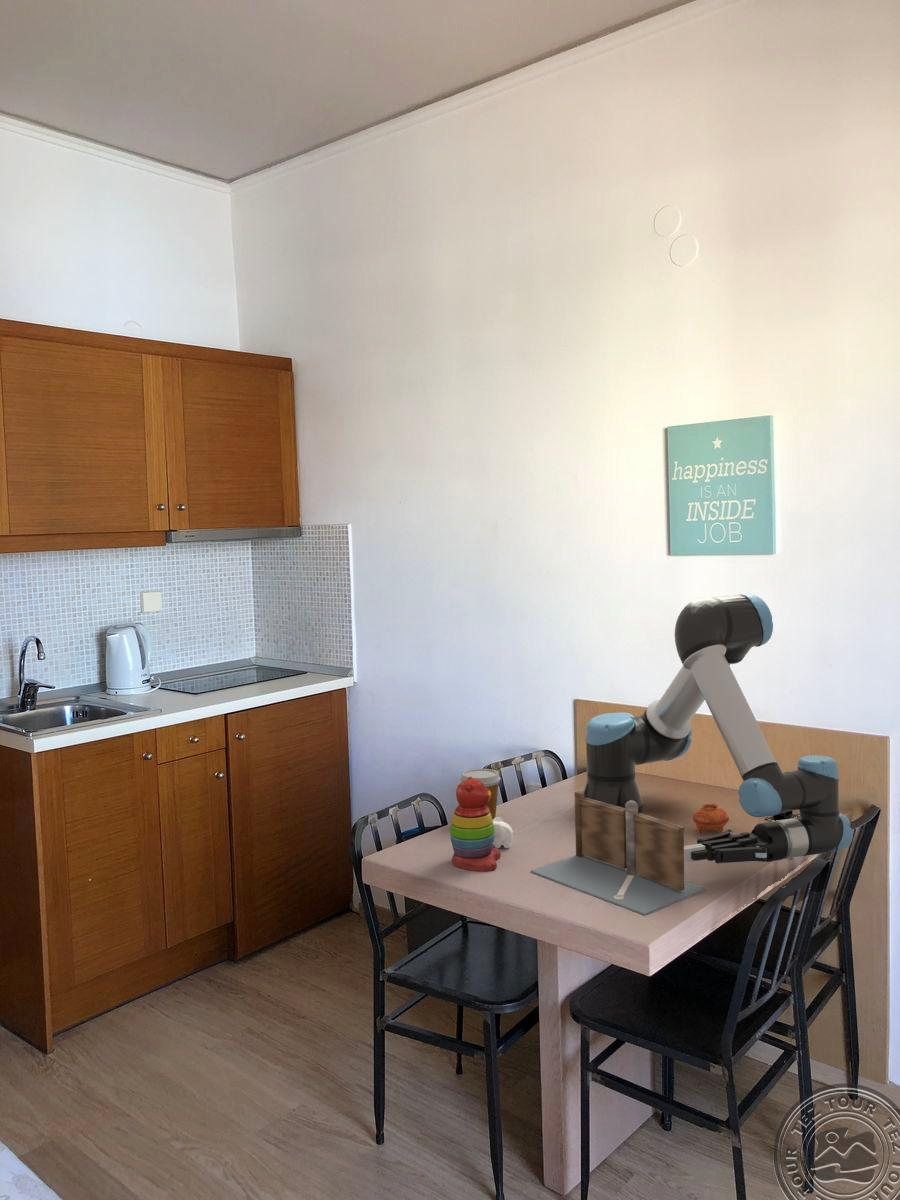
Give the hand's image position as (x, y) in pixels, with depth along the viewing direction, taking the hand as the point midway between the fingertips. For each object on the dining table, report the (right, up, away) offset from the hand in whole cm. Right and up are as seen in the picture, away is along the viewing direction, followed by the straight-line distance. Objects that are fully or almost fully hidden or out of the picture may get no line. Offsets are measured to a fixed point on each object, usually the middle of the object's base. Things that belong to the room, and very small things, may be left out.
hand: (673, 856), depth 189 cm
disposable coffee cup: (-35, -4, +45) cm, 57 cm away
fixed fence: (-11, -6, +14) cm, 18 cm away
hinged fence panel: (-2, -5, +2) cm, 6 cm away
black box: (+35, -3, +43) cm, 56 cm away
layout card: (-10, -6, +5) cm, 13 cm away
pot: (+16, -3, +33) cm, 37 cm away
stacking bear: (-38, -6, +18) cm, 42 cm away
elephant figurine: (-32, -5, +28) cm, 43 cm away
